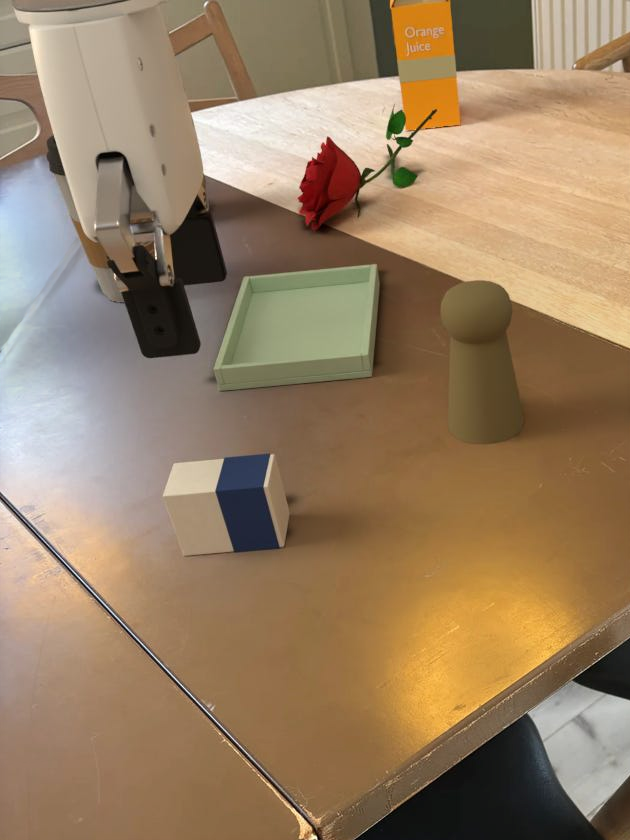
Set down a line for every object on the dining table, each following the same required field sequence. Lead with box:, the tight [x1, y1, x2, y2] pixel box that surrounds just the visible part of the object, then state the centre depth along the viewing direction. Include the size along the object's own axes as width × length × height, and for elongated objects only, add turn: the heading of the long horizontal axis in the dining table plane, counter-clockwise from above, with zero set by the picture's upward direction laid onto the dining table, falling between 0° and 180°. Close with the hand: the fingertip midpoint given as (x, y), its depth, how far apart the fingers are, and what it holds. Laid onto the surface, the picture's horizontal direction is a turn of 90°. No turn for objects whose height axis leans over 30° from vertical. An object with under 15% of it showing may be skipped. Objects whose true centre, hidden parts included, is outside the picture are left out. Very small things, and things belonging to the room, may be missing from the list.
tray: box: [213, 263, 381, 392], centre depth 93 cm, size 13×19×2 cm
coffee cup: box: [46, 134, 156, 304], centre depth 100 cm, size 8×8×15 cm
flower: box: [296, 103, 437, 231], centre depth 118 cm, size 9×10×30 cm
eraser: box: [162, 452, 291, 557], centre depth 69 cm, size 7×4×5 cm, turn 92°
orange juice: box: [389, 0, 461, 131], centre depth 134 cm, size 8×9×20 cm
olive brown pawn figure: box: [439, 279, 525, 445], centre depth 76 cm, size 6×6×11 cm
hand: (188, 315), depth 59 cm, fingers open, 9 cm apart
